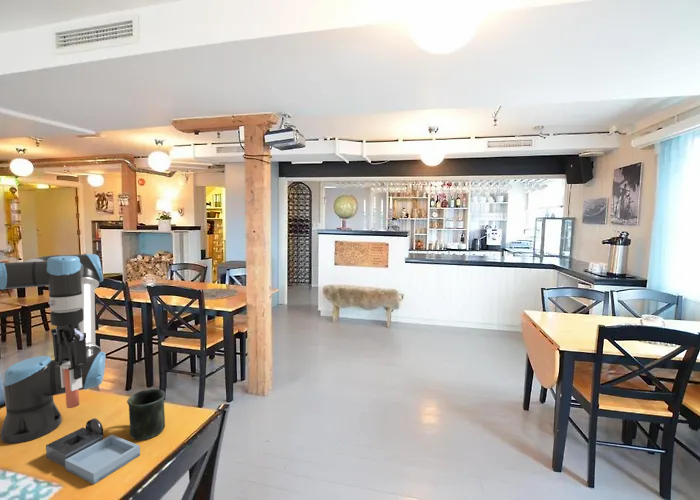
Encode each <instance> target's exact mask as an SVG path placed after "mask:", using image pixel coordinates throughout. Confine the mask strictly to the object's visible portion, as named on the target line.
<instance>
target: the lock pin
mask: <svg viewBox="0 0 700 500" xmlns="http://www.w3.org/2000/svg"><path fill="white" fill-rule="evenodd" d="M68 368H71V364H70V361H68V362H65V363H63V364H62V369H64V375H65V390H66V393H65V401H66V408H67V409H73V408H76V407H78V406H79V405H80V396H79V395H80V393H79V391H80V390H78V389H77V390H74V391H71V388H70V373H69V369H68Z"/></svg>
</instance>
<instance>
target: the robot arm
mask: <svg viewBox="0 0 700 500" xmlns="http://www.w3.org/2000/svg"><path fill="white" fill-rule="evenodd" d="M103 281H104V275H103V270H102V264H101V259H100V257H99V255H97V254H95V253H83V254H60V255H58V254H56V255H53V254H52V255H46V256H41V257H35V258H34V257H33V258H29V259H27V260H25V261H18V262H16V261H15V262H14V261H13V262H0V290H7V289H8V290H10V289H20V288H35V287H48V292H49V293H48V298H49V300H48V302H47V303H48V305H49V310H50V311H51V312H50V313H49V317H50V324H51V326H54V327H56V328H52V329H51V330H50V333H51V337H52V344H53V345H52V346H53V347H52V348H53V355H54V356H53V357H54V359H52V358H51V356H49V355H40V356H34V357H31V358H30V357H29V358H26V359H24V360H21V361H19V362H16V363H15V364H14V363H13V364H12V365H11V366H9V367H7V368H6V369H5V371H4V373H3V383H2V385H3V387H4V398H5V399H4V400H5V410H6V414H5V417H4V419H3V423H2V427H1V429H0V440H1V441H2V442H3V443H5V444H16V443H17V444H19V443H23V442H24V443H25V442H28V441H32V440H35V439H38V438H40V437H43V436H45V435H47V434H48V435H49V434H50V433H51V432H53V431H54V430H56V429H57V428H59V427H60V425H61V424H62V414H61V412H60V410H59V409H58V407H57V405H56V403H55V401H54V396H58V395H63V394H66V390H65V375H64V369H62V364H63V363H65V362H68V361H70V364H71V368H68V369H69V373H70V388H71V391H74V390H77V389H78V390H79V391H82V390H83V391H84V390H88V389H92V388H96V387H99V386H100V385H101V384H102V383H103V380H104V375H105V369H106V358H107V357H106V356H107V355H106V352H105V351H101V347H100V346H98V345H97V344H96V305H95V304H96V301H95V300H96V296H95V294H96V293H95V290H96V289H97V288H98V287H99V285H100V283H103Z"/></svg>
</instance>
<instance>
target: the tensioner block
mask: <svg viewBox="0 0 700 500" xmlns="http://www.w3.org/2000/svg"><path fill="white" fill-rule="evenodd" d="M104 433H105V432H104V427H103V425H102V423H101V421H99V419H97V418H95V417H94V418H92V419H90V420H88V421H87V422H86V424H85V427H81V428H79V429H76V430H75V431H72V432H71V433H68V434H66V435H64V436H62V437H60V438H57V439H56V440H53V441H52V442H50V443H47V444H46V445H45V451H46V452H45V453H46V459H48V460H49V461H51V462H54V463H55V464H57V465H59V466H62V467H64V468H65V460H66V459H67V458H69V457H71V456H73V455H75V454H77V453H79V452H80V451H82V450H84V449H86V448H88V447H90V446H92V445H93V444H95V443H97V442H99V441H101V440H103V439H104Z"/></svg>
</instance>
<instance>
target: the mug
mask: <svg viewBox="0 0 700 500" xmlns="http://www.w3.org/2000/svg"><path fill="white" fill-rule="evenodd" d="M165 396H166V393H165V391H164V390H162V389H159V388H153V389H151V388H150V389H144V390H142V391H138V392H136V393H134V394H131V396H129V397H128V398H127V401H126V404H127V405H128V415H129V419H128V420H129V435H130V437H131V438H132V439H134V440H136V441H137V440H138V441H143V440H148V439H153V438H155V437H156V436H159V435H160V434H161V433H163V431H164V429H165V427H166V418H165Z"/></svg>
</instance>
